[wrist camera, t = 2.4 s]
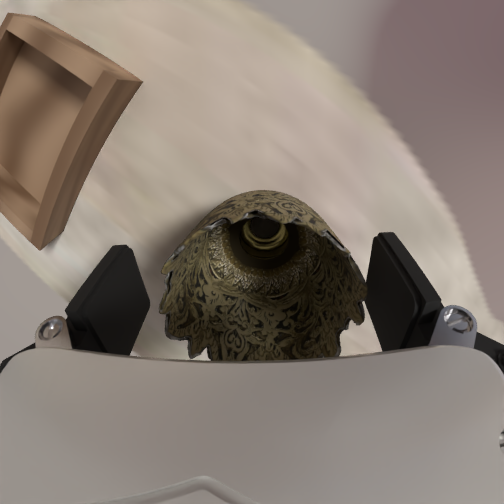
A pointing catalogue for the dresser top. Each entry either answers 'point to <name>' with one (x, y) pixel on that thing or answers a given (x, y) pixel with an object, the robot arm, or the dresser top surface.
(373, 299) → the robot arm
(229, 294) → the olive round vessel
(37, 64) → the box
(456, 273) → the dresser top surface
